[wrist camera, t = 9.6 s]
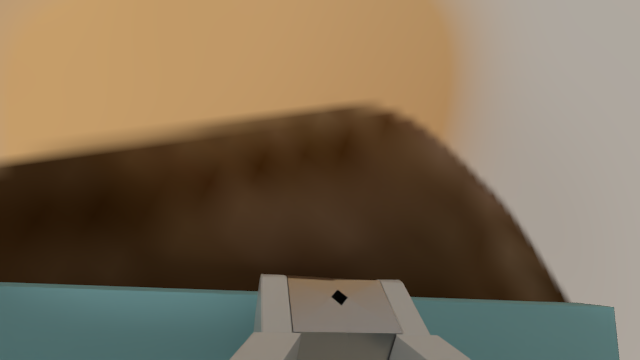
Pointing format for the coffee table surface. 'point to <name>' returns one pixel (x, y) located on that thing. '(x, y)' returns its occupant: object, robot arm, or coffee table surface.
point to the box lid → (239, 315)
